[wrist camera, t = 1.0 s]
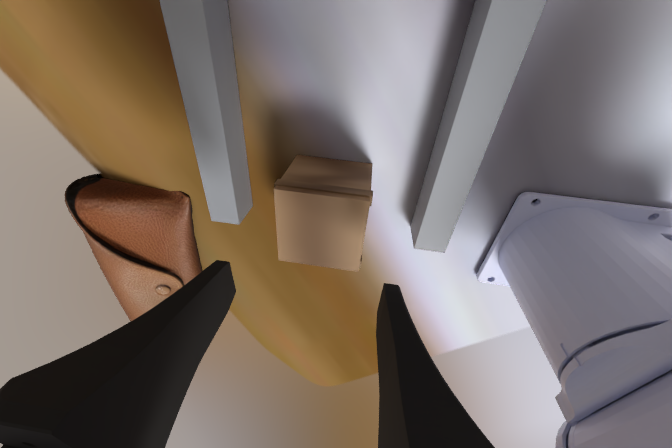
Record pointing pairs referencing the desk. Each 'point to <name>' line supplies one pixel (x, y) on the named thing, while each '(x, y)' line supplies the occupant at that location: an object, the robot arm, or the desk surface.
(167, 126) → the desk surface
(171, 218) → the sunglasses case
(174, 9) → the bay
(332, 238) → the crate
